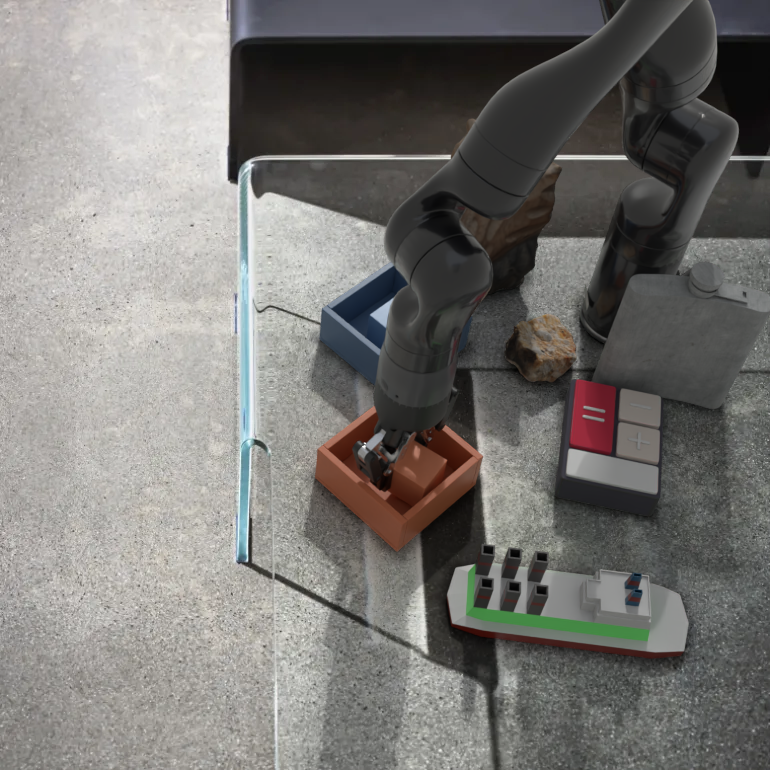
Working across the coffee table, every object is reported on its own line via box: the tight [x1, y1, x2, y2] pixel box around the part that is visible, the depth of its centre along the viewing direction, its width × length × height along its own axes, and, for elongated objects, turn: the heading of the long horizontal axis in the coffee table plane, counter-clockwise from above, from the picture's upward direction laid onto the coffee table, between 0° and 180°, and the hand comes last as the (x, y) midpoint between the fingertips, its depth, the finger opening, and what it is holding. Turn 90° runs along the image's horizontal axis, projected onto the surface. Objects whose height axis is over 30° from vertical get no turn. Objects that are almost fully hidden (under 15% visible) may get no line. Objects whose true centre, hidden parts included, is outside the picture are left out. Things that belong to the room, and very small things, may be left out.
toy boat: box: [445, 543, 690, 660], centre depth 116 cm, size 8×25×8 cm, turn 85°
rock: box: [503, 313, 578, 383], centre depth 139 cm, size 9×6×10 cm
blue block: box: [367, 299, 393, 350], centre depth 137 cm, size 4×4×4 cm
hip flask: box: [591, 260, 770, 410], centre depth 131 cm, size 16×4×20 cm, turn 84°
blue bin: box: [318, 261, 474, 386], centre depth 137 cm, size 13×13×6 cm
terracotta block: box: [387, 441, 447, 506], centre depth 124 cm, size 4×4×4 cm
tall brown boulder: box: [450, 118, 563, 295], centre depth 141 cm, size 13×13×20 cm
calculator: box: [554, 378, 665, 517], centre depth 131 cm, size 11×4×15 cm
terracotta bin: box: [314, 405, 484, 553], centre depth 125 cm, size 13×13×6 cm
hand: (397, 471), depth 126 cm, fingers closed on terracotta block, 4 cm apart
